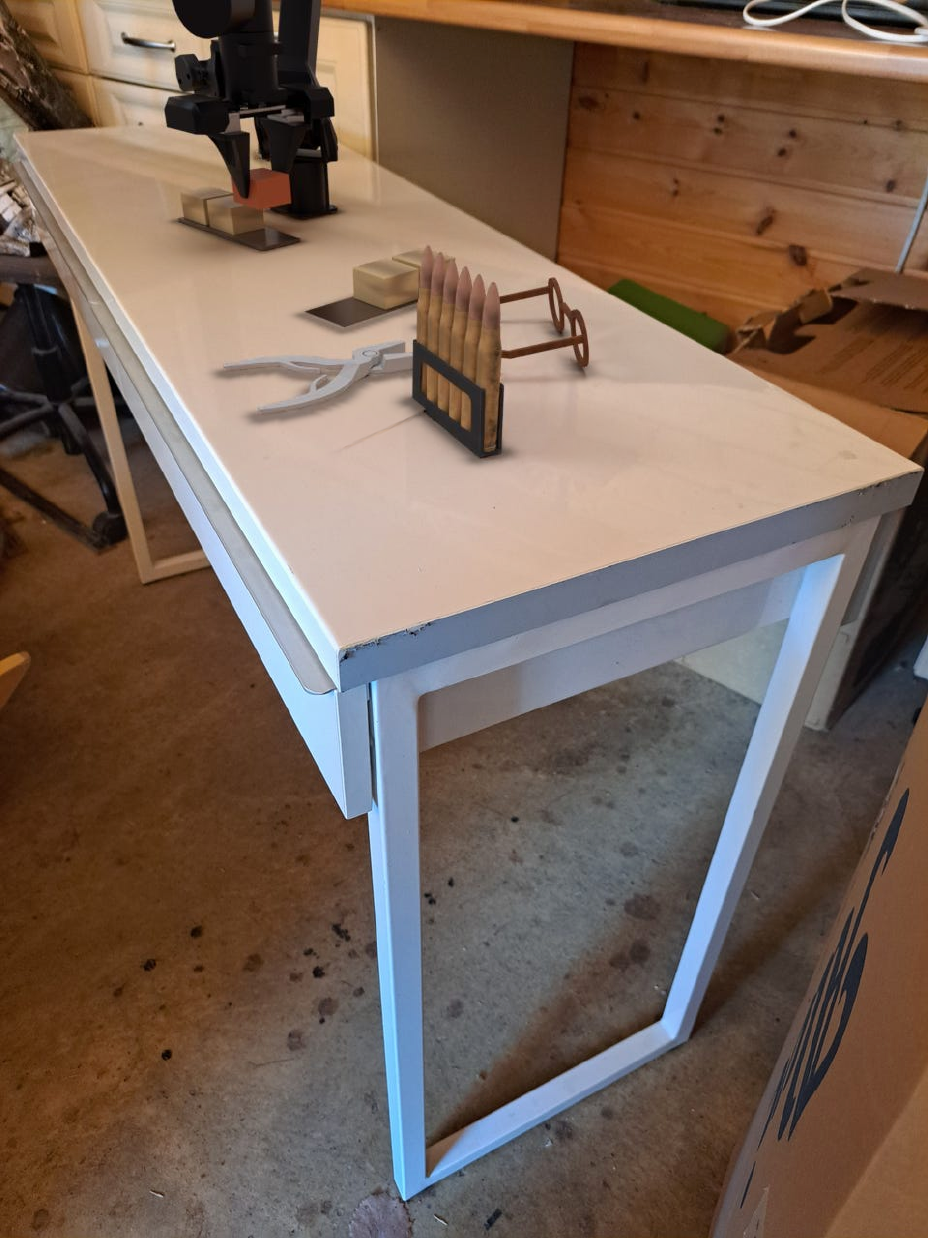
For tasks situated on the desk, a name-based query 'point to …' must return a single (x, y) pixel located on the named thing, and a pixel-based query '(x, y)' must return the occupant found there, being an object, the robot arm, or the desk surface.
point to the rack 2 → (379, 289)
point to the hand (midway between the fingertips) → (262, 194)
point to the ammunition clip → (459, 355)
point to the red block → (265, 189)
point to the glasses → (558, 324)
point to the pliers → (362, 364)
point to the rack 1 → (230, 219)
